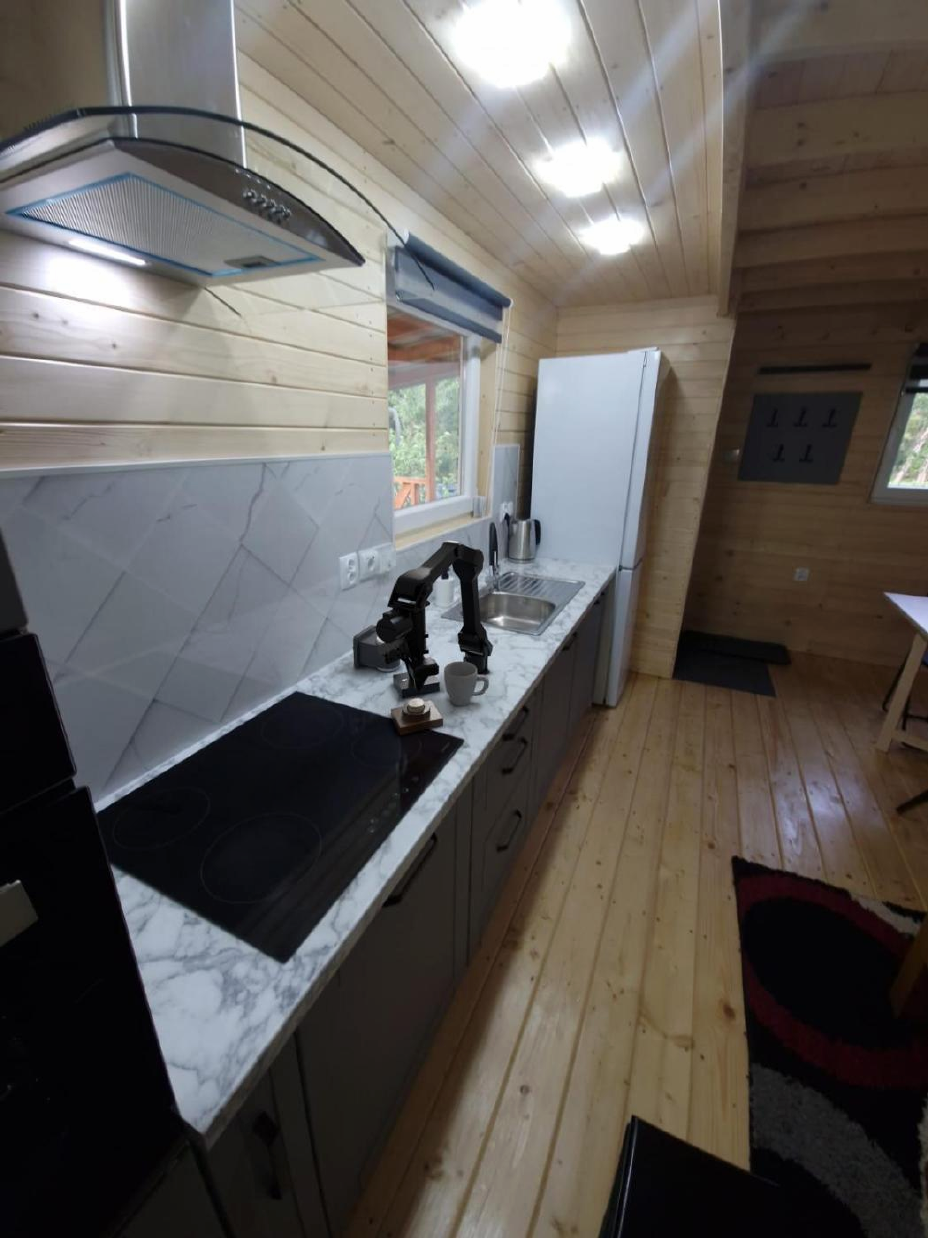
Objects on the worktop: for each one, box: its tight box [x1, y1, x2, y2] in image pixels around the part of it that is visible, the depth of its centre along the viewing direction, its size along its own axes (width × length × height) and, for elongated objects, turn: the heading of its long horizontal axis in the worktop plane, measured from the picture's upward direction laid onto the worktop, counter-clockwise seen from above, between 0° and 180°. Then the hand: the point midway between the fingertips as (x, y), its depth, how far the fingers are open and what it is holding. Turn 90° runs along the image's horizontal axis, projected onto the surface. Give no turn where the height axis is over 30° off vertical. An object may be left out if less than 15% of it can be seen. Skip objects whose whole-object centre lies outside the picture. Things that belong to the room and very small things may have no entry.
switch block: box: [390, 700, 444, 736], centre depth 125 cm, size 11×9×4 cm
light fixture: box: [352, 624, 401, 672], centre depth 151 cm, size 11×13×11 cm
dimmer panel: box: [392, 671, 441, 700], centre depth 140 cm, size 11×9×3 cm
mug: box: [443, 661, 490, 706], centre depth 133 cm, size 12×9×10 cm
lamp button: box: [407, 697, 425, 712], centre depth 124 cm, size 4×4×2 cm
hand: (415, 686), depth 122 cm, fingers open, 5 cm apart
